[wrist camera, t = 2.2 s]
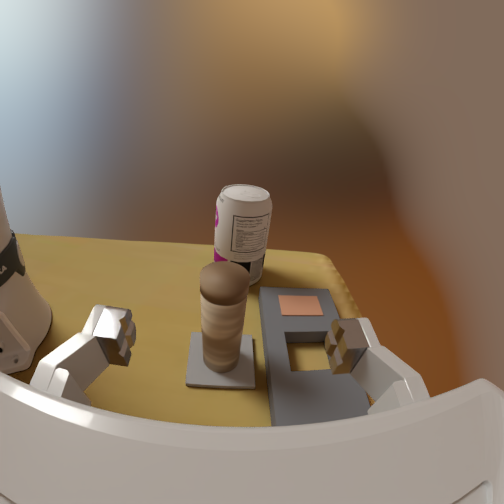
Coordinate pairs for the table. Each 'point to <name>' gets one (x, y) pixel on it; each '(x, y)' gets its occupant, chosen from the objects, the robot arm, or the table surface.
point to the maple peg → (223, 313)
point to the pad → (205, 377)
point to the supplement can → (243, 227)
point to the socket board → (303, 382)
